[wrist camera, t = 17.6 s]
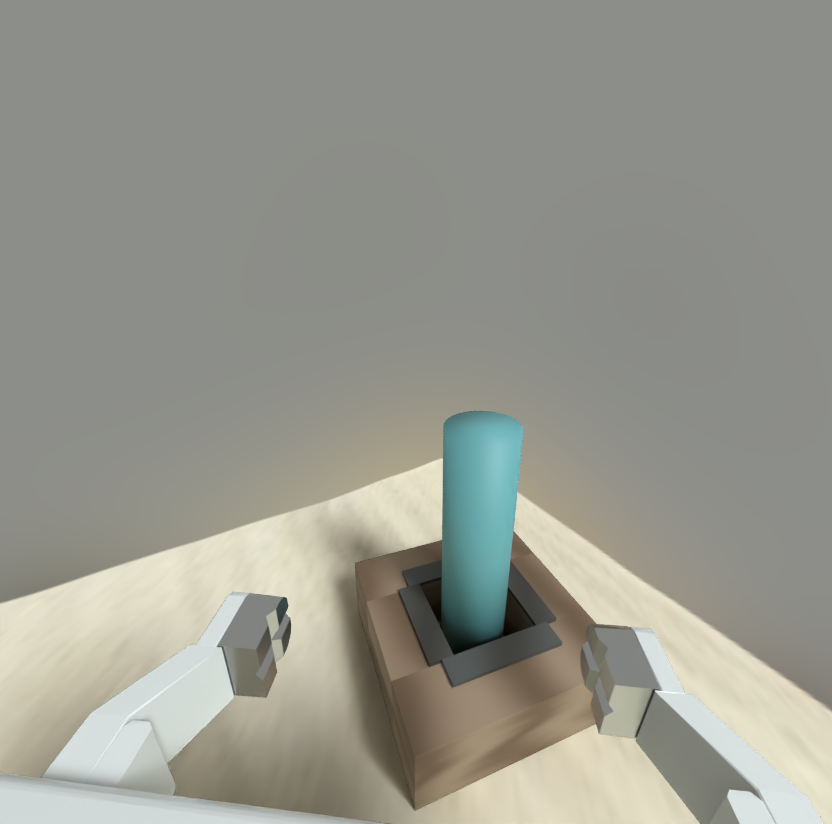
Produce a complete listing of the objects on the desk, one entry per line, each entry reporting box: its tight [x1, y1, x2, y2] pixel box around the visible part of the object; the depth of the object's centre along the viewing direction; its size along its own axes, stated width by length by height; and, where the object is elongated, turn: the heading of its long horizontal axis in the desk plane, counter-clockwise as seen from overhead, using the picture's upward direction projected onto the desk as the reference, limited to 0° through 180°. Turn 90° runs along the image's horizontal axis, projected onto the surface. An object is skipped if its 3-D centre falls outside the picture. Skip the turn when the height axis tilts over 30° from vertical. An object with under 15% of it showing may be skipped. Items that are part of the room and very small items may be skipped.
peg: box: [441, 411, 523, 655], centre depth 26 cm, size 4×4×18 cm
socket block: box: [355, 531, 596, 810], centre depth 29 cm, size 14×14×5 cm
